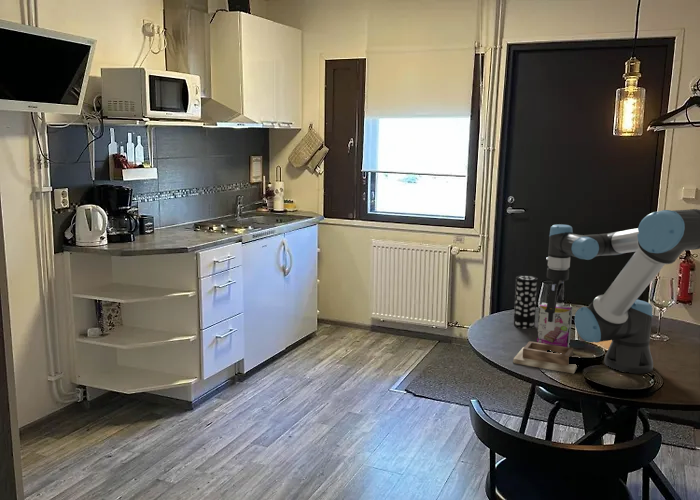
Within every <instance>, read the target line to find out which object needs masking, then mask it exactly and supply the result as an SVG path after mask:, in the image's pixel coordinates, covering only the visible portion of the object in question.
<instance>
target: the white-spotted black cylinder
mask: <svg viewBox="0 0 700 500" xmlns="http://www.w3.org/2000/svg"><path fill="white" fill-rule="evenodd" d="M537 290H538V277H536V276H533V275H518V276H517V275H516V277H515V291H514V292H515V293H514V294H515V295H514V310H513V311H514V312H513V327H516V328H517V329H523V330H524V329H525V330H526V329H527V330H529V329H533V328H535V327H536V326H535V324H536V312H537V311H536V310H537V308H536V307H537V296H538V295H537V293H538V291H537Z"/></svg>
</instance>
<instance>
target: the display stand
mask: <svg viewBox="0 0 700 500" xmlns="http://www.w3.org/2000/svg"><path fill="white" fill-rule="evenodd" d="M547 350H551V351H554V352H558V353H553V352H547ZM560 353H562V354H560ZM570 356H577V354H576V355H575V354H574V347H570V346H569V347H563V346H556V345H550V344H544V343H538V342H537V341H530V340H529V341H528V342H527V343H526V345H525V346H523V347H522V348H521V349H520V350H519V352H518V353H516V355H515V356H514V357H513V362H512V363H513V364H515V365H516V364H517V365H523V366H527V367H534V368H535V367H536V368H538V369H539V368H540V369H545V370H550V371H551V370H552V371H556V372H557V371H558V372H561V373H568V374H569V373H570V374H573V375H574V374H575V372H576V370H577V369H578V367H577V365H576V364H569V357H570Z"/></svg>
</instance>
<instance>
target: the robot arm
mask: <svg viewBox="0 0 700 500" xmlns="http://www.w3.org/2000/svg"><path fill="white" fill-rule="evenodd" d="M692 250H700V208H699V209H698V208H693V209H692V208H690V209H675V210H671V209H663V210H662V209H661V210H658V211H653V212H651V213H649V214H647V215H646V216H644V217H643V218H642V219H641V221H640V222H639V225H638V227H637V228H631V229H630V228H629V229H625V230H620V231H614V232H608V233H599V234H598V233H597V234H584V235H583V234H576V233H574V232H573V227H572V226H571V225H569V224H562V223H561V224H560V223H559V224H557V223H556V224H553V225H552V226H550V230H549V235H548V252H547V253H548V256H547V257H546V261H547V268H546V278H547V279H549V280H551V281H552V282H551V283H550V284H549V292H548V297H547V302H546V303H547V309H546V310H545V312H547V322H546V330H551V331H554V326H555V308H556V304H557V305H564V304H565V303H566V299H565V281H568V280H569V278H570V269H569V268H570V267H571V256H572V257H574V258H577V259H579V260H587V261H589V260H592V259H594V258H596V257H600V256H602V257H603V256H619V255H623V254H626V253H633V254H632V256H631V257H630V259H629V260H628V261H627V263H625V265H624V267H623V268H622V270H620V272H619V274H618V275H617V276H616V278H615V279H614V281H612V282H611V284H610V286H609V287H608V288H607V290H606V291H605V292H604V294H599V295H597V296H596V297H595V298H594V299H593V300H592V301H591V303H590V304H589V305H588V306H582V307H580V308H578V309H577V310H576V312H575V314H574V326H575V329H576V332H577V334H578V335H579V337H580V338H581V339H582V340H583V341H585V342H587V343H595V344H596V343H597V344H598V343H601V342H608V341H611V343H610V345H609V347H608V349H607V350H606V353H605V356H604V365H606V366H607V367H608V366H609V367H608V368H610V367H611V368H610V369H612V368H613V369H612V370H614V369H616V370H615V371H617V370H619V371H618V372H621V371H625V372H624V373H626V372H629V373H628V374H635V375H637V374H640V375H641V374H647V373H650V372H652V371H653V370H654V361H653V357H652V352H651V348H650V342H651V341H650V340H651V332H652V325H653V324H652V323H653V317H654V315H653V305H651V303H649V302H647V301H645V300H640V299H639V298H640V296H641V295H642V294H643V292H644V291H645V290H646V288H648V286H649V285H650V284H651V283H652V281H653V280H654V279H655V278H656V276H657V275H658V274H659V273H660V271H661V270H662V269H663V267H664V266H665V265H671V264H673V263H675V262H676V260H677V259H678V258H679V257H680V256H681V254H682V253H683V252H685V251H692ZM550 308H551V309H550Z"/></svg>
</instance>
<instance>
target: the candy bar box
mask: <svg viewBox="0 0 700 500" xmlns="http://www.w3.org/2000/svg"><path fill="white" fill-rule="evenodd" d="M538 309H539V311H538V320H537V321H538V322H537V334H536V342H538V343H544V344H550V345H556V346H563V347H569V348H570V345H569V343H570V341H571V331H572V319H573V318H572V317H573V309H574V308H573V306H571V305H564V304H563V305H557V304H556V308H555V326H554V331H551V330H546V322H547V312H545V310H546V309H547V302H541V303H540V304H539V308H538ZM550 309H551V308H550Z"/></svg>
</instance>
